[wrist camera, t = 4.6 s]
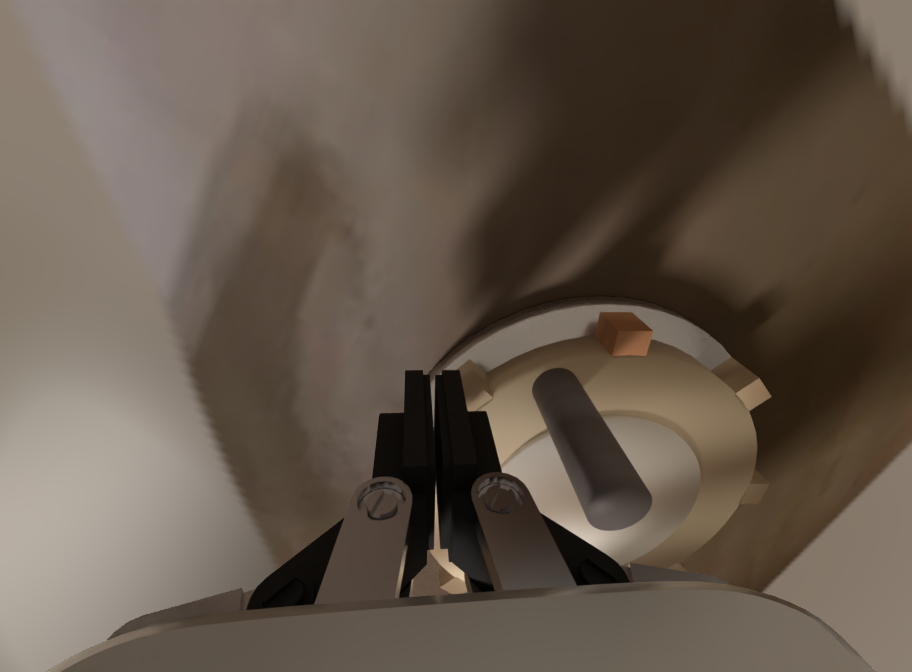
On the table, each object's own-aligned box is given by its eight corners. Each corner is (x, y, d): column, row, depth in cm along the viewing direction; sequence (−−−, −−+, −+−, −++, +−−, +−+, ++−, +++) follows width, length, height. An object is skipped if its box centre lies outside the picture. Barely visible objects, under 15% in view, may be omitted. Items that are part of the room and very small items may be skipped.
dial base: (737, 507, 23) (750, 522, 22) (463, 592, 24) (465, 610, 23) (728, 234, 15) (748, 241, 14) (331, 379, 16) (326, 394, 16)
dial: (745, 525, 21) (869, 674, 16) (471, 609, 23) (491, 777, 17) (740, 261, 14) (960, 356, 9) (342, 404, 16) (302, 571, 10)
